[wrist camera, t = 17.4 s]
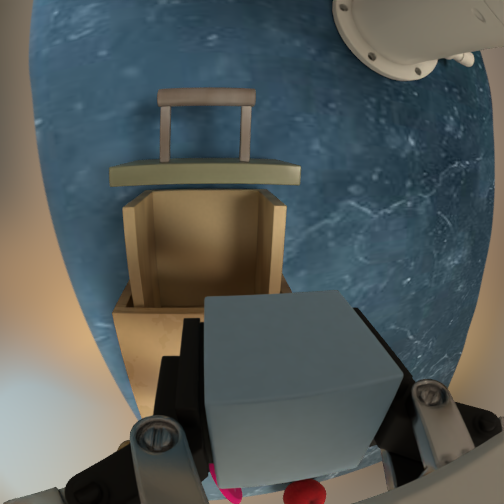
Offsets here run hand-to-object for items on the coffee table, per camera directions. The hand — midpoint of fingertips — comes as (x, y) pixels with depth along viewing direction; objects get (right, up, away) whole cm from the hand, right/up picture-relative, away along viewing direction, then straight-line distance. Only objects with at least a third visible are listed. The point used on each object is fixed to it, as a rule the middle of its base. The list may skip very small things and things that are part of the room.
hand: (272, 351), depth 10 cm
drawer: (-4, +7, +14) cm, 17 cm away
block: (0, 0, 0) cm, 0 cm away
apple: (+10, -42, +28) cm, 52 cm away
